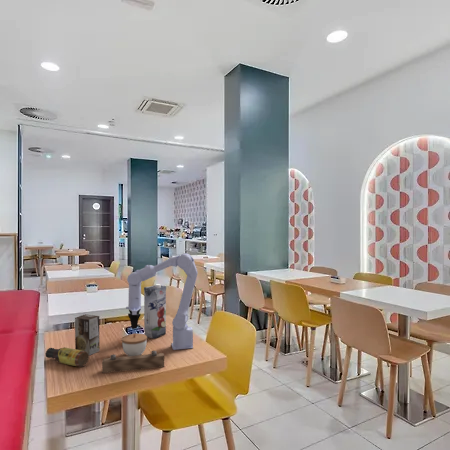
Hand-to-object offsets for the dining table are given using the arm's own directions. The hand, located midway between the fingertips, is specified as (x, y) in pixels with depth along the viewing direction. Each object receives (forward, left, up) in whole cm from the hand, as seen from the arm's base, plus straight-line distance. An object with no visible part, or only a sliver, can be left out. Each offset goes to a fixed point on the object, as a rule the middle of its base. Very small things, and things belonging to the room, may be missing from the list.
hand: (134, 326), depth 160 cm
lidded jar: (0, +10, -10) cm, 14 cm away
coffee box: (+21, +1, -10) cm, 23 cm away
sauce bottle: (+19, +19, -7) cm, 27 cm away
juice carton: (-10, -14, -10) cm, 20 cm away
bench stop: (0, +25, -10) cm, 27 cm away
